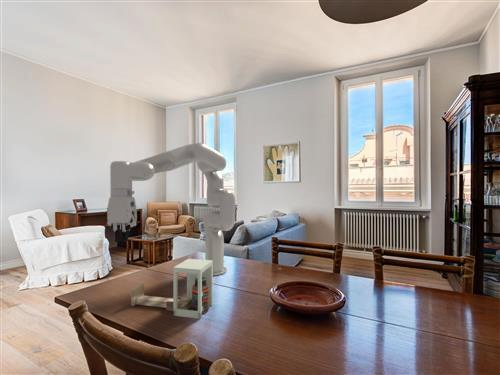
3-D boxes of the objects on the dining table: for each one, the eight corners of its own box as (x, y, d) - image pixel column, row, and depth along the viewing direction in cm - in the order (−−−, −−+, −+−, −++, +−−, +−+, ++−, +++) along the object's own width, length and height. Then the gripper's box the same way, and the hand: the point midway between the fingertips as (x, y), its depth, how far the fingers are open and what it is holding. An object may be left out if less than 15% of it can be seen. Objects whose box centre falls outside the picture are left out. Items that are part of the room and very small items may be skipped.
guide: (173, 303, 99) (173, 295, 99) (180, 304, 98) (180, 296, 98) (166, 310, 94) (166, 301, 94) (173, 311, 93) (173, 302, 93)
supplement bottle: (205, 315, 90) (205, 282, 90) (189, 313, 91) (189, 281, 91) (211, 307, 96) (211, 276, 96) (196, 306, 97) (195, 275, 97)
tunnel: (188, 301, 101) (188, 258, 101) (212, 304, 98) (212, 260, 98) (173, 315, 90) (173, 267, 90) (200, 318, 88) (200, 269, 88)
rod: (130, 306, 96) (129, 290, 96) (142, 298, 103) (142, 283, 103) (184, 312, 91) (184, 295, 91) (193, 304, 98) (193, 288, 98)
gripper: (145, 193, 103) (145, 240, 103) (111, 193, 106) (111, 238, 107) (133, 194, 95) (133, 244, 96) (96, 193, 99) (96, 242, 99)
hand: (121, 241), depth 101 cm, fingers closed
